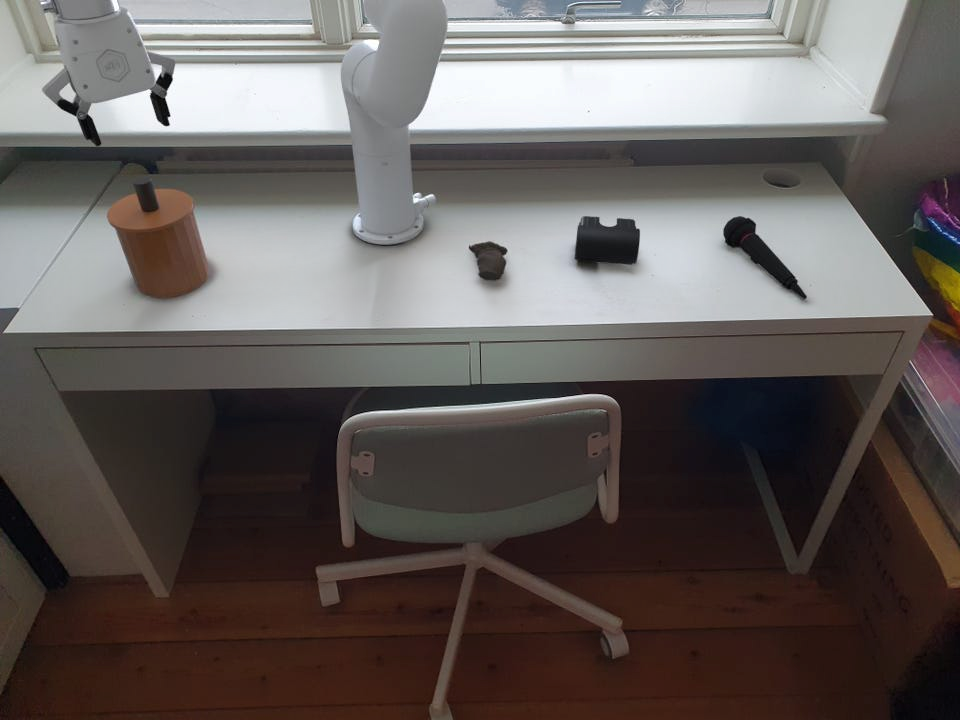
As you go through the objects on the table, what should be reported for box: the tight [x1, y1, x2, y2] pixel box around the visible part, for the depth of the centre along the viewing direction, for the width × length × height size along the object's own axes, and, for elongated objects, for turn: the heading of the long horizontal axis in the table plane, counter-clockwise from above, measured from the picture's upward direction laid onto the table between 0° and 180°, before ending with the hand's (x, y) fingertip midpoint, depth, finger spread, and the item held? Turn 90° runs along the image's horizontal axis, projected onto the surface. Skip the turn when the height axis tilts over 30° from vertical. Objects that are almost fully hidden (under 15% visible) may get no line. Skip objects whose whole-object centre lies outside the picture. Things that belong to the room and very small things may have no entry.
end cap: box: [574, 215, 641, 266], centre depth 122 cm, size 10×7×7 cm
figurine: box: [468, 240, 508, 281], centre depth 120 cm, size 6×4×12 cm
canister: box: [114, 210, 211, 299], centre depth 116 cm, size 11×11×12 cm
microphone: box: [722, 215, 808, 300], centre depth 121 cm, size 6×6×20 cm
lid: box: [106, 175, 195, 233], centre depth 110 cm, size 12×12×6 cm
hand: (130, 132), depth 104 cm, fingers open, 9 cm apart
